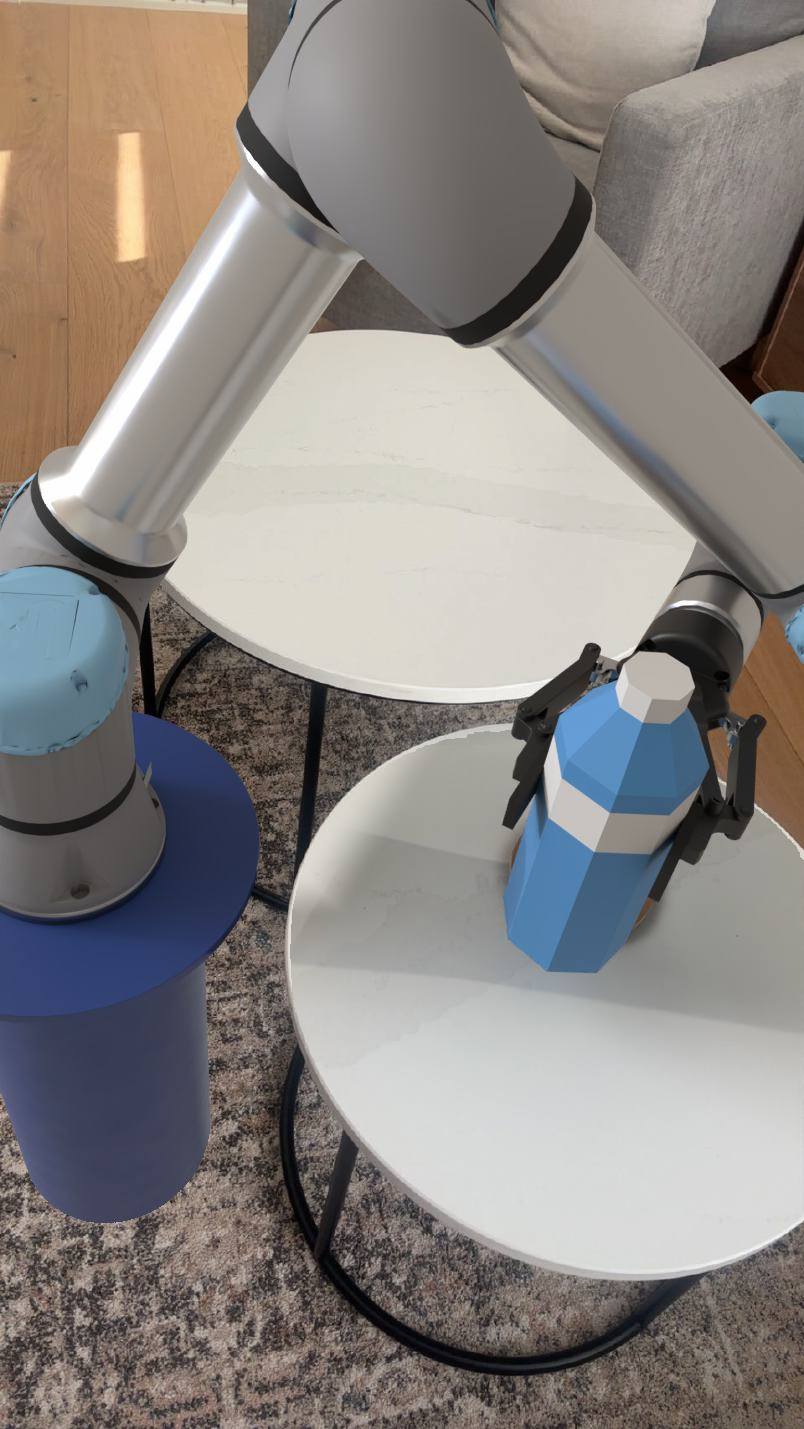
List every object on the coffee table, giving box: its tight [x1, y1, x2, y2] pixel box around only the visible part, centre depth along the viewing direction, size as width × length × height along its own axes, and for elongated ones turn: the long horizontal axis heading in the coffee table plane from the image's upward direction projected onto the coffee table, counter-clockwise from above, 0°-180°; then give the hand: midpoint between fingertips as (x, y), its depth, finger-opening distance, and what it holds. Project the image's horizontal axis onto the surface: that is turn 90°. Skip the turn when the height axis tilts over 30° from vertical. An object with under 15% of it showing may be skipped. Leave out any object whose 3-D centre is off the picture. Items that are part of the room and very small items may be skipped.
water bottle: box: [502, 651, 709, 974], centre depth 71 cm, size 9×9×25 cm
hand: (583, 849), depth 67 cm, fingers closed on water bottle, 9 cm apart
